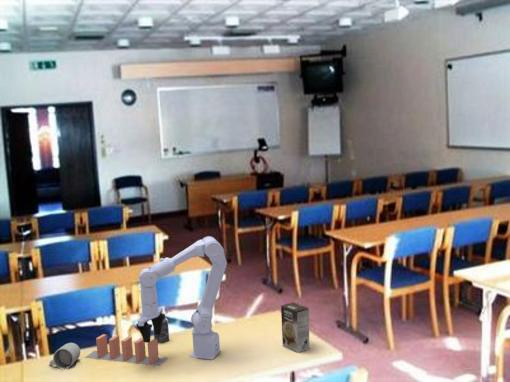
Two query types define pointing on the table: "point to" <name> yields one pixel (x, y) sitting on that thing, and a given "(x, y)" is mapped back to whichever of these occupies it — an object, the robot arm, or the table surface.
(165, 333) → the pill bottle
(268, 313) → the table surface
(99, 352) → the domino
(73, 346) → the ceramic mug
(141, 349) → the domino
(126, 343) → the domino
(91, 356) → the runner mat
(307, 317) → the coffee box
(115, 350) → the domino
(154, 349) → the domino
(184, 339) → the table surface
